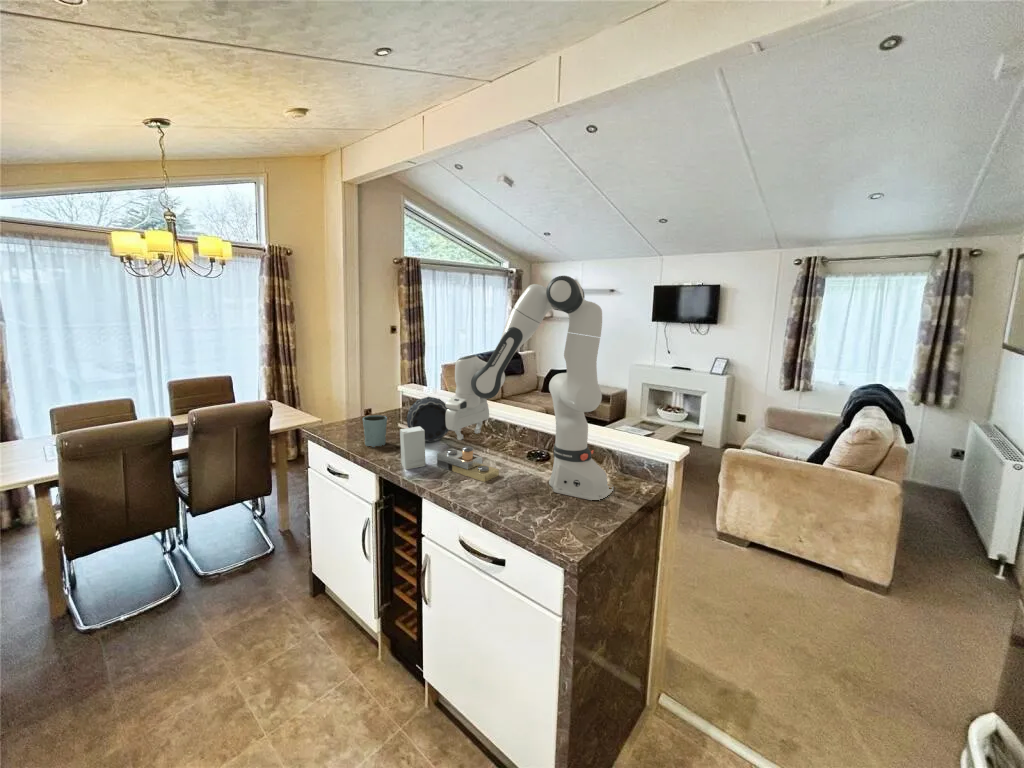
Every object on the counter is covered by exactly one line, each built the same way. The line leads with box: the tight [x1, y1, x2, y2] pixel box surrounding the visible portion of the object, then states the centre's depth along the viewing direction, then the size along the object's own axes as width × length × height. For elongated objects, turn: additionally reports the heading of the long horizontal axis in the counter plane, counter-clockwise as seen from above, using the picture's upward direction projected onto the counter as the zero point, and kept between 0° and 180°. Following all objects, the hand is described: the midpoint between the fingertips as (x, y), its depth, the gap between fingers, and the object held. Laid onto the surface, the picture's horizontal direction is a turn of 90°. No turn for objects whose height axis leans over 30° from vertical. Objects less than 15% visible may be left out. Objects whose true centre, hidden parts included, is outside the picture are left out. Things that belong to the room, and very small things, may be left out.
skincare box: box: [399, 426, 427, 471], centre depth 168 cm, size 8×6×15 cm
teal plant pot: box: [362, 414, 388, 448], centre depth 193 cm, size 10×10×12 cm
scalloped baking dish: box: [406, 396, 450, 443], centre depth 199 cm, size 11×20×20 cm, turn 107°
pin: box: [461, 445, 474, 461], centre depth 165 cm, size 4×4×9 cm
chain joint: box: [436, 448, 500, 483], centre depth 165 cm, size 24×8×6 cm, turn 53°
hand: (469, 436), depth 163 cm, fingers open, 8 cm apart
